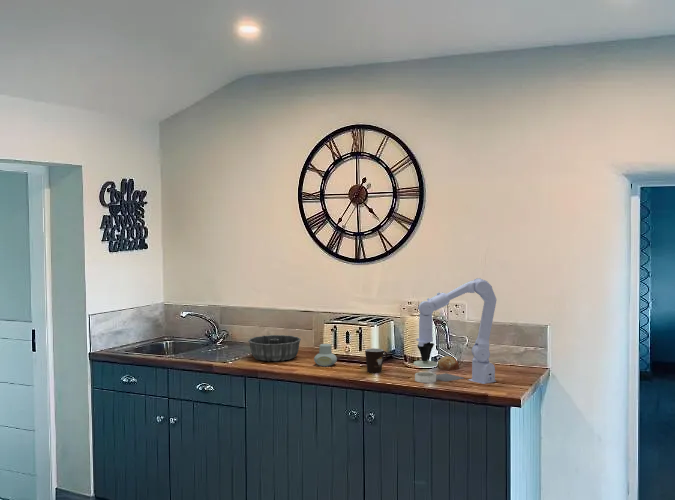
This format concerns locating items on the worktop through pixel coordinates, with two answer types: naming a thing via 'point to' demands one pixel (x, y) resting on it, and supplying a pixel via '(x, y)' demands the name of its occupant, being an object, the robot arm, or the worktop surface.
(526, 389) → the worktop surface
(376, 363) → the coffee mug
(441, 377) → the mat
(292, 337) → the bundt pan
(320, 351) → the air freshener
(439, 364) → the bread roll
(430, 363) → the lid
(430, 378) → the ramekin
